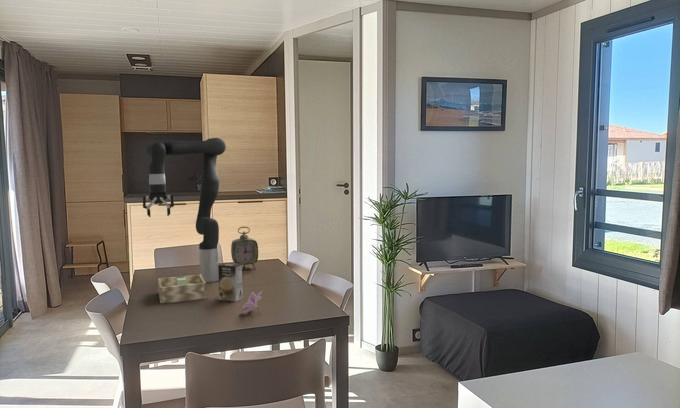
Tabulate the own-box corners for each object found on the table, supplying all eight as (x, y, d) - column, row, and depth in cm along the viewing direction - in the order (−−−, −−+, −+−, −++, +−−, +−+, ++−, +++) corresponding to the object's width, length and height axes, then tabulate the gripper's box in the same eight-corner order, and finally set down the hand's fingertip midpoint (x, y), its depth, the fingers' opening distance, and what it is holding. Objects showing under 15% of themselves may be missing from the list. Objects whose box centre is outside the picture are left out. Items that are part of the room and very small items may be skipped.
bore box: (201, 288, 251) (200, 274, 251) (206, 298, 233) (206, 283, 232) (158, 293, 244) (157, 278, 243) (160, 303, 225) (159, 287, 225)
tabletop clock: (233, 271, 290) (232, 228, 288) (231, 268, 298) (229, 226, 296) (258, 269, 295) (257, 226, 293) (255, 266, 303) (254, 225, 301)
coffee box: (218, 300, 230) (217, 265, 228) (226, 296, 236) (224, 262, 234) (236, 301, 226) (235, 266, 225) (243, 298, 233) (242, 263, 231)
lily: (266, 310, 216) (256, 290, 216) (276, 306, 206) (264, 285, 207) (242, 324, 209) (231, 304, 210) (251, 320, 199) (239, 299, 200)
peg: (186, 294, 241) (185, 277, 240) (186, 296, 237) (186, 279, 237) (177, 295, 240) (176, 278, 239) (177, 297, 236) (177, 280, 235)
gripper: (172, 182, 254) (173, 214, 255) (141, 183, 249) (143, 216, 250) (173, 183, 247) (174, 216, 248) (141, 184, 242) (143, 217, 243)
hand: (158, 216), depth 249 cm, fingers open, 8 cm apart
